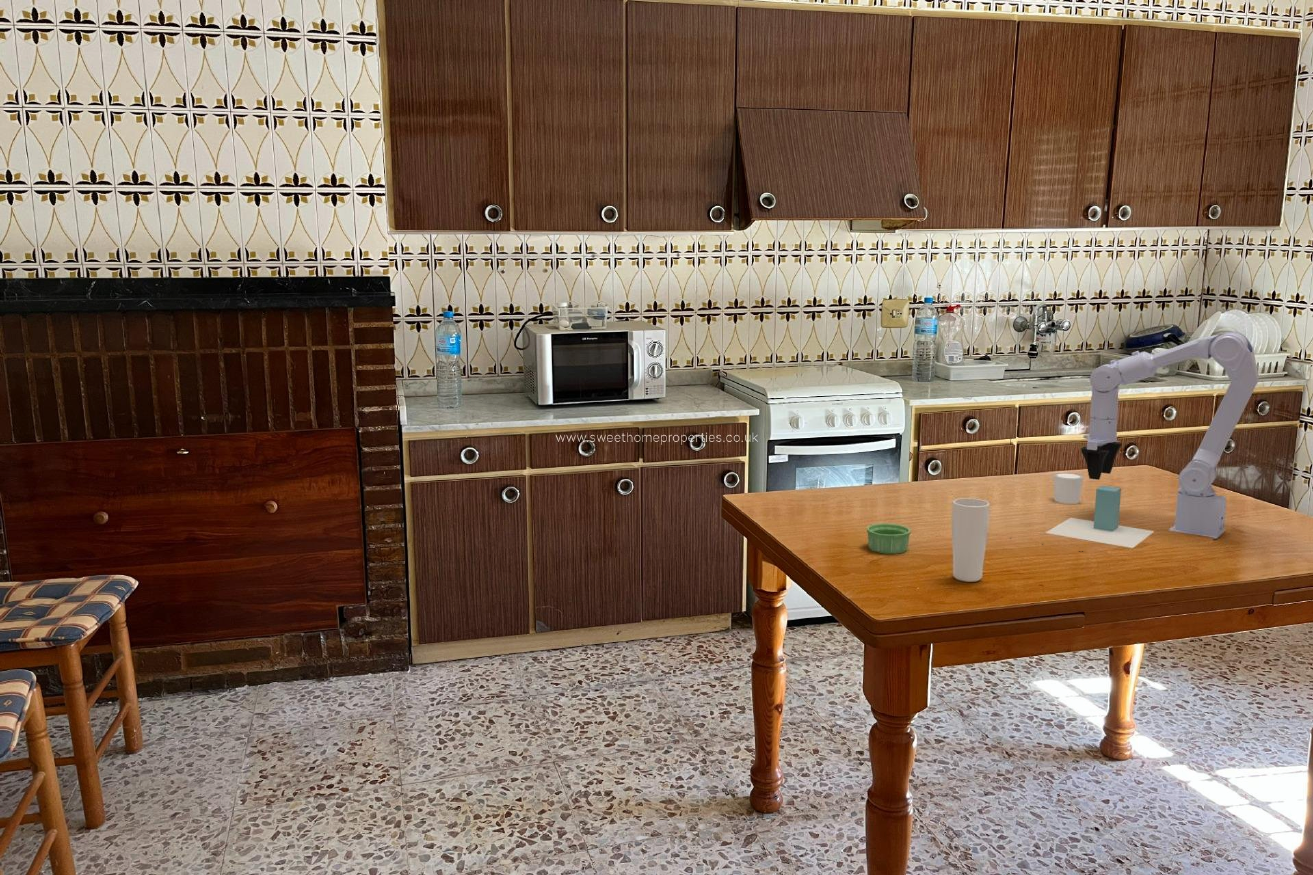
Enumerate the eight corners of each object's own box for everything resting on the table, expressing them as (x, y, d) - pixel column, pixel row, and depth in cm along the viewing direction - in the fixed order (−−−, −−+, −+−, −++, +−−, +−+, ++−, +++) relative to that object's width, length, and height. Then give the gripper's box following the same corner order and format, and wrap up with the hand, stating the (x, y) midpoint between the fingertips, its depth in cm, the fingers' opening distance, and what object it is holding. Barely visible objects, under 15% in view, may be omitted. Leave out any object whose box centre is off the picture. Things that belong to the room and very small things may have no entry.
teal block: (1118, 527, 224) (1121, 488, 223) (1112, 531, 221) (1115, 491, 220) (1099, 524, 227) (1102, 485, 225) (1093, 528, 224) (1096, 488, 222)
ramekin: (915, 546, 214) (916, 526, 213) (902, 557, 207) (903, 537, 206) (874, 540, 219) (874, 521, 218) (860, 551, 211) (860, 531, 210)
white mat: (1154, 533, 221) (1154, 531, 221) (1132, 550, 209) (1132, 547, 209) (1070, 520, 233) (1070, 517, 233) (1045, 535, 221) (1045, 532, 221)
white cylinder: (1076, 500, 251) (1078, 472, 250) (1085, 507, 244) (1087, 478, 243) (1048, 499, 252) (1049, 472, 250) (1056, 506, 245) (1057, 478, 244)
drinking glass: (978, 572, 197) (982, 497, 194) (991, 583, 190) (995, 506, 187) (944, 572, 197) (947, 498, 194) (955, 584, 190) (959, 507, 187)
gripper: (1096, 411, 238) (1092, 468, 240) (1074, 420, 227) (1071, 479, 229) (1127, 414, 233) (1123, 472, 236) (1107, 423, 222) (1103, 483, 225)
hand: (1100, 476), depth 232 cm, fingers open, 7 cm apart
